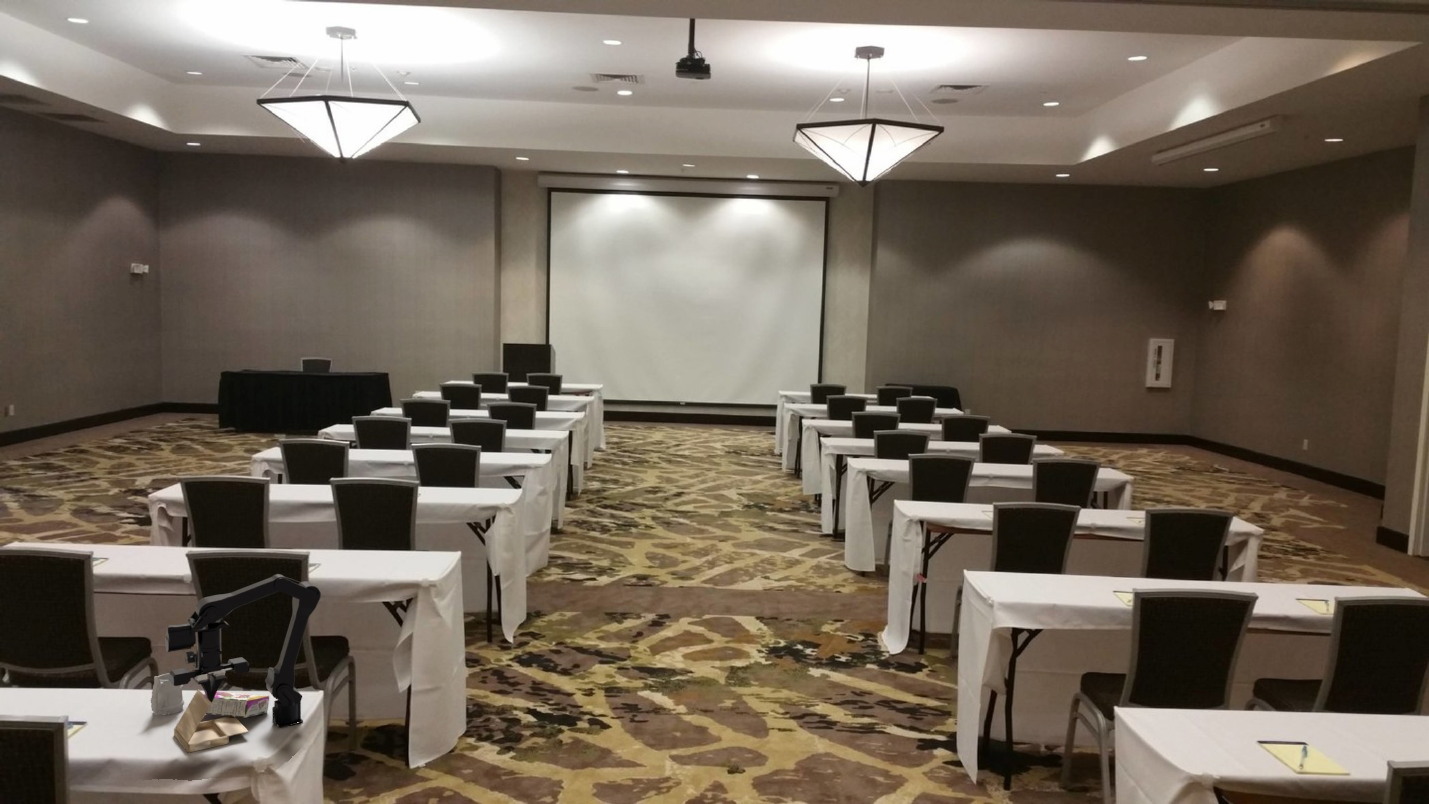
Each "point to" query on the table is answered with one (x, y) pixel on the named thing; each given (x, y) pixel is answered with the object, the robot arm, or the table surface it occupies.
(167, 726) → the table surface
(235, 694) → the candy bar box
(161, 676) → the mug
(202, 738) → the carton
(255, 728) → the table surface
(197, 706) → the flap
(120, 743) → the table surface
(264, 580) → the robot arm
